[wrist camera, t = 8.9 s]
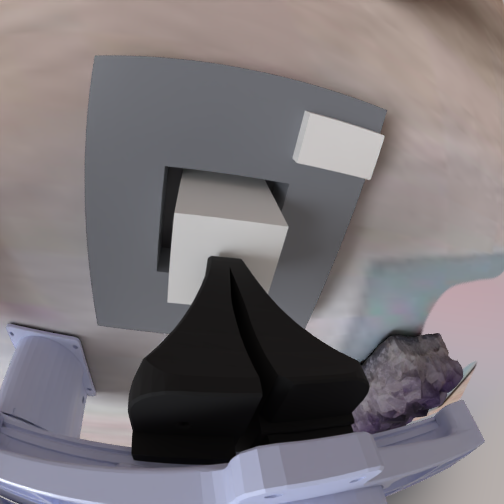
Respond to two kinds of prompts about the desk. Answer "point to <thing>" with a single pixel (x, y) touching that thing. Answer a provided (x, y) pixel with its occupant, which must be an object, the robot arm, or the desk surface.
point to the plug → (222, 229)
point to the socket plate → (214, 160)
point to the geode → (405, 382)
